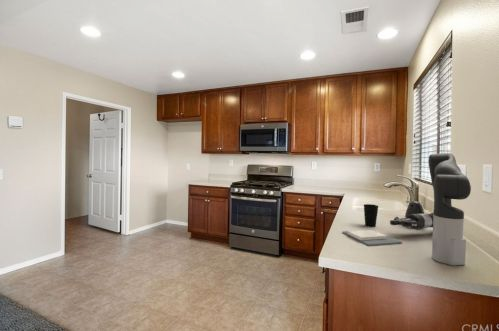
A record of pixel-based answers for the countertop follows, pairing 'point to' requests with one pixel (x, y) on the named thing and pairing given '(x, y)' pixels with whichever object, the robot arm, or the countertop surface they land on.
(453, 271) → the countertop surface
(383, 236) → the tile
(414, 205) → the pump dispenser
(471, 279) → the countertop surface
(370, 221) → the cup
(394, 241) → the mat
